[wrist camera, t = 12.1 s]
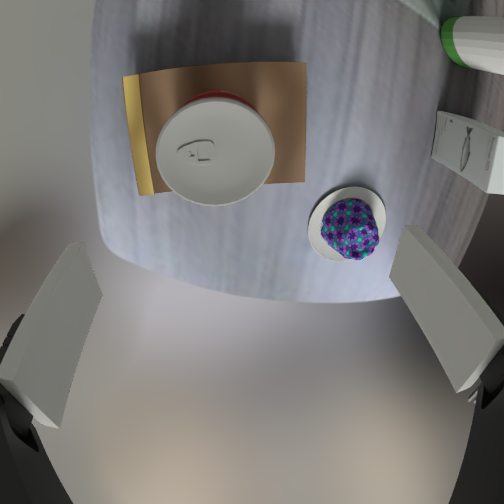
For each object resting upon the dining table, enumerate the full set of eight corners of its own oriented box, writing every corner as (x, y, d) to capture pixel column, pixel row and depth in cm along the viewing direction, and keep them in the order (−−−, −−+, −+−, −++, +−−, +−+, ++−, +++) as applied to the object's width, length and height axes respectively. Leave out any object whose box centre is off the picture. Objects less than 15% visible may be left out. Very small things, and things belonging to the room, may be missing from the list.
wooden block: (294, 63, 29) (307, 62, 25) (294, 167, 36) (305, 183, 32) (135, 76, 28) (121, 77, 24) (148, 179, 35) (138, 196, 31)
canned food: (167, 103, 26) (138, 121, 17) (246, 79, 26) (260, 83, 17) (190, 172, 30) (177, 221, 21) (265, 150, 30) (286, 190, 21)
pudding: (297, 200, 39) (306, 219, 35) (378, 174, 38) (396, 188, 34) (316, 268, 46) (326, 291, 41) (387, 243, 44) (402, 262, 40)
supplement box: (435, 108, 32) (499, 133, 22) (470, 117, 33) (530, 144, 22) (428, 157, 37) (486, 194, 26) (462, 162, 37) (517, 197, 27)
